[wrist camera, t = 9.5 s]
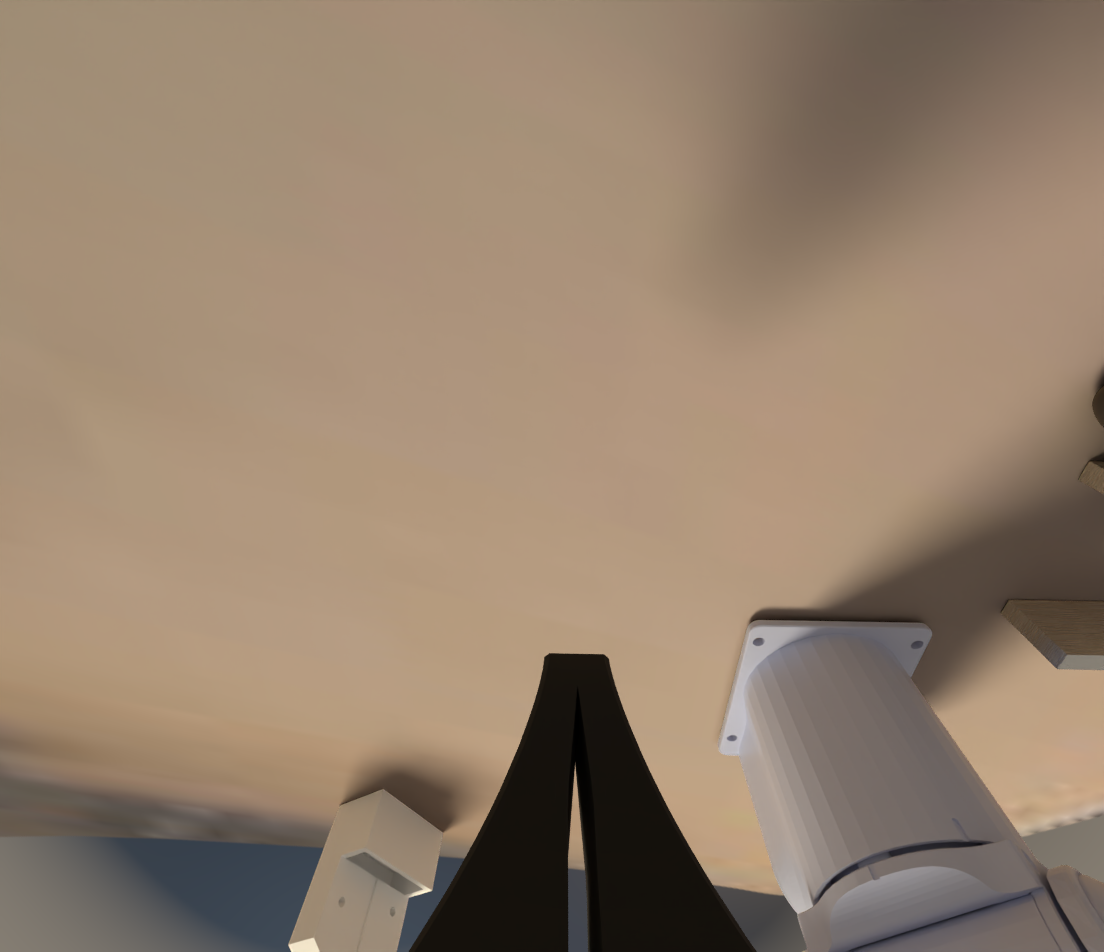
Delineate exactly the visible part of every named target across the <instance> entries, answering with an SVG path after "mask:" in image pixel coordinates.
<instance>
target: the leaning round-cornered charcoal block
mask: <svg viewBox="0 0 1104 952" xmlns="http://www.w3.org/2000/svg"><path fill="white" fill-rule="evenodd" d="M1092 406H1093V412H1094V414H1095V417H1096V418H1097V420H1098V421H1099V423H1100V424H1101V425H1102V426H1103V427H1104V386H1103V387H1102V388H1101V389H1100V390H1099V391H1098V392H1097V393H1096V395H1095V397H1094V399H1093V404H1092Z"/></svg>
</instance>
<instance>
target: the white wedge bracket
mask: <svg viewBox="0 0 1104 952" xmlns="http://www.w3.org/2000/svg"><path fill="white" fill-rule="evenodd" d="M442 837H443V832H441V831H440V830H439V829H437V828H436V827H435V826H433V825H432V824H430V823H429V822H428V821H426V820H425V819H424V818H422V817H421V816H420V815H418V814H417V813H415V812H414V811H413V810H411V809H410V808H409V807H407V806H406V805H405V804H403V803H402V802H400V801H399V800H398V799H396V798H395V797H394V796H392V795H391V794H390V793H388V792H387V791H385V790H384V789H382V790H379V791H377V792H374V793H371V794H369V795H366V796H363V797H361V798H358V799H356V800H353V801H350V802H348V803H345V804H343V805H340V806H339V808H338V811H337V814H336V817H335V819H334V822H333V825H332V827H331V830H330V833H329V836H328V838H327V841H326V844H325V846H324V849H323V852H322V855H321V857H320V860H319V863H318V866H317V868H316V871H315V874H314V876H313V879H312V882H311V885H310V887H309V890H308V893H307V895H306V898H305V901H304V904H303V906H302V909H301V912H300V914H299V917H298V920H297V923H296V926H295V928H294V931H293V934H292V936H291V939H290V942H289V944H288V945H289V947H290V950H291V952H397V947H398V943H399V939H400V934H401V930H402V925H403V921H404V916H405V912H406V907H407V903H408V898H409V897H412V896H415V895H419V894H422V893H426V892H429V891H432V888H433V883H434V878H435V873H436V867H437V862H438V857H439V852H440V847H441V842H442Z"/></svg>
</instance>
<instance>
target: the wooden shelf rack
mask: <svg viewBox="0 0 1104 952" xmlns="http://www.w3.org/2000/svg"><path fill="white" fill-rule="evenodd" d="M1078 480H1079V481H1081V482H1083V483H1085V484H1086V485H1088V486H1090V487H1091V488H1093V489H1095V490H1097V491H1098V492H1100V493H1102V494H1104V461H1089V462H1088V464H1087V466H1086V467H1085V469H1084V471H1083V472H1082V474H1081V476H1080V478H1079V479H1078ZM1001 614H1002V615H1003V616H1004V617H1005V618H1006V619H1007V620H1008V621H1009V622H1010V623H1011V624H1012V625H1013V626H1014V627H1015V628H1016V629H1017V630H1018V631H1019V632H1020V633H1021V634H1022V635H1023V636H1024V637H1025V638H1026V639H1027V640H1028V641H1029V642H1030V643H1031V644H1032V645H1033V646H1034V647H1035V648H1036V649H1037V650H1038V651H1039V652H1040V653H1041V654H1042V655H1043V656H1044V657H1045V658H1046V659H1047V660H1048V661H1049V662H1050V663H1051V664H1052V665H1053V666H1054V667H1056V668H1057V669H1076V670H1104V601H1053V600H1008V602H1007V604H1006V605H1005V607H1004V609H1003V610H1002V612H1001Z"/></svg>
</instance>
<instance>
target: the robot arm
mask: <svg viewBox="0 0 1104 952" xmlns="http://www.w3.org/2000/svg"><path fill="white" fill-rule="evenodd" d="M932 634H933V633H932V631H931V629H930V628H929V627H928V626H927V625H926V624H924V623H905V622H849V621H793V620H756V621H753V622H752V623H750V624H749V625H748V627H747V631H746V634H745V638H744V642H743V646H742V650H741V654H740V658H739V662H738V666H737V670H736V674H735V678H734V682H733V685H732V689H731V693H730V697H729V701H728V705H727V709H726V713H725V717H724V721H723V725H722V729H721V733H720V737H719V740H718V748H719V751H720V753H722V754H724V755H739V758H740V762H741V765H742V768H743V772H744V775H745V778H746V782H747V785H748V788H749V792H750V795H751V798H752V802H753V805H754V808H755V812H756V815H757V818H758V822H759V825H760V829H761V832H762V835H763V839H764V842H765V845H766V849H767V852H768V855H769V859H770V862H771V865H772V869H773V872H774V874H775V877H776V879H777V882H778V884H779V886H780V888H781V890H782V892H783V894H784V896H785V897H786V899H787V900H788V902H789V903H790V905H791V906H792V908H793V909H794V910H795V911H796V913H797V914H798V916H797V917H798V921H799V924H800V927H801V930H802V933H803V936H804V940H805V943H806V946H807V950H804V951H802V952H1104V883H1102V882H1100V881H1098V880H1096V879H1093V878H1091V877H1089V876H1086V875H1082V874H1081V873H1080V872H1079V871H1077V870H1076V869H1074V868H1072V867H1070V866H1068V865H1061V866H1058V867H1055V868H1052V869H1047V868H1046V867H1045V866H1044V865H1043V864H1041V863H1040V862H1039V861H1038V860H1037V859H1036V858H1035V856H1034V855H1033V853H1032V852H1031V850H1030V849H1029V848H1028V846H1027V845H1026V843H1025V842H1024V840H1023V839H1022V837H1021V836H1020V835H1019V833H1018V832H1017V830H1016V829H1015V827H1014V826H1013V824H1012V823H1011V822H1010V820H1009V819H1008V817H1007V816H1006V814H1005V813H1004V812H1003V810H1002V809H1001V807H1000V806H999V804H998V803H997V801H996V800H995V799H994V797H993V796H992V794H991V793H990V791H989V790H988V789H987V787H986V786H985V784H984V783H983V781H982V780H981V778H980V777H979V776H978V774H977V773H976V771H975V770H974V768H973V767H972V765H971V764H970V763H969V761H968V760H967V758H966V757H965V755H964V754H963V753H962V751H961V750H960V748H959V747H958V745H957V744H956V742H955V741H954V740H953V738H952V737H951V735H950V734H949V732H948V731H947V730H946V728H945V727H944V725H943V724H942V722H941V721H940V719H939V718H938V717H937V715H936V714H935V712H934V711H933V709H932V708H931V707H930V705H929V704H928V702H927V701H926V699H925V698H924V696H923V695H922V694H921V692H920V691H919V689H918V688H917V686H916V685H915V684H914V682H913V681H912V679H911V677H912V675H913V673H914V671H915V669H916V667H917V665H918V663H919V661H920V659H921V657H922V655H923V653H924V651H925V649H926V647H927V645H928V643H929V641H930V639H931V637H932ZM756 638H759V639H756ZM575 765H576V776H577V787H578V798H579V809H580V820H581V831H582V841H583V852H584V863H585V873H586V890H587V916H588V917H587V918H588V952H756V950H755V949H754V947H753V946H752V945H751V943H750V942H749V940H748V939H747V937H746V936H745V934H744V933H743V931H742V930H741V928H740V927H739V925H738V923H737V922H736V921H735V919H734V917H733V916H732V914H731V913H730V911H729V910H728V908H727V906H726V905H725V904H724V902H723V900H722V899H721V898H720V896H719V894H718V893H717V891H716V890H715V888H714V886H713V885H712V883H711V882H710V880H709V879H708V877H707V875H706V874H705V872H704V870H703V869H702V867H701V865H700V864H699V862H698V860H697V858H696V857H695V855H694V853H693V852H692V850H691V848H690V847H689V845H688V843H687V841H686V840H685V838H684V836H683V834H682V832H681V831H680V829H679V827H678V825H677V824H676V822H675V820H674V818H673V816H672V814H671V812H670V811H669V809H668V807H667V805H666V803H665V801H664V799H663V797H662V795H661V793H660V791H659V789H658V787H657V785H656V783H655V781H654V779H653V777H652V775H651V773H650V771H649V768H648V766H647V764H646V762H645V760H644V758H643V755H642V753H641V751H640V749H639V746H638V744H637V741H636V739H635V737H634V734H633V732H632V730H631V727H630V725H629V722H628V720H627V717H626V715H625V712H624V709H623V707H622V704H621V701H620V698H619V695H618V692H617V689H616V686H615V683H614V679H613V676H612V672H611V668H610V664H609V658H608V657H606V656H605V655H604V654H555V653H549V654H548V655H547V656H545V657H544V665H543V671H542V676H541V680H540V684H539V688H538V692H537V695H536V698H535V702H534V705H533V708H532V711H531V714H530V717H529V720H528V722H527V725H526V728H525V731H524V734H523V736H522V739H521V742H520V744H519V747H518V749H517V752H516V754H515V756H514V759H513V761H512V763H511V766H510V768H509V770H508V773H507V775H506V777H505V780H504V782H503V784H502V787H501V789H500V791H499V793H498V795H497V797H496V799H495V802H494V804H493V806H492V808H491V810H490V812H489V814H488V816H487V818H486V820H485V822H484V824H483V826H482V828H481V830H480V832H479V833H478V835H477V837H476V839H475V841H474V843H473V845H472V846H471V848H470V850H469V852H468V854H467V856H466V857H465V859H464V861H463V863H462V865H461V866H460V868H459V870H458V872H457V874H456V875H455V877H454V879H453V881H452V882H451V884H450V886H449V888H448V889H447V891H446V893H445V894H444V896H443V898H442V899H441V901H440V902H439V904H438V906H437V907H436V909H435V911H434V912H433V914H432V915H431V917H430V919H429V920H428V922H427V923H426V925H425V927H424V928H423V930H422V931H421V933H420V935H419V936H418V938H417V939H416V941H415V942H414V944H413V946H412V947H411V949H410V950H409V952H568V850H569V836H570V823H571V810H572V796H573V783H574V770H575Z"/></svg>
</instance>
